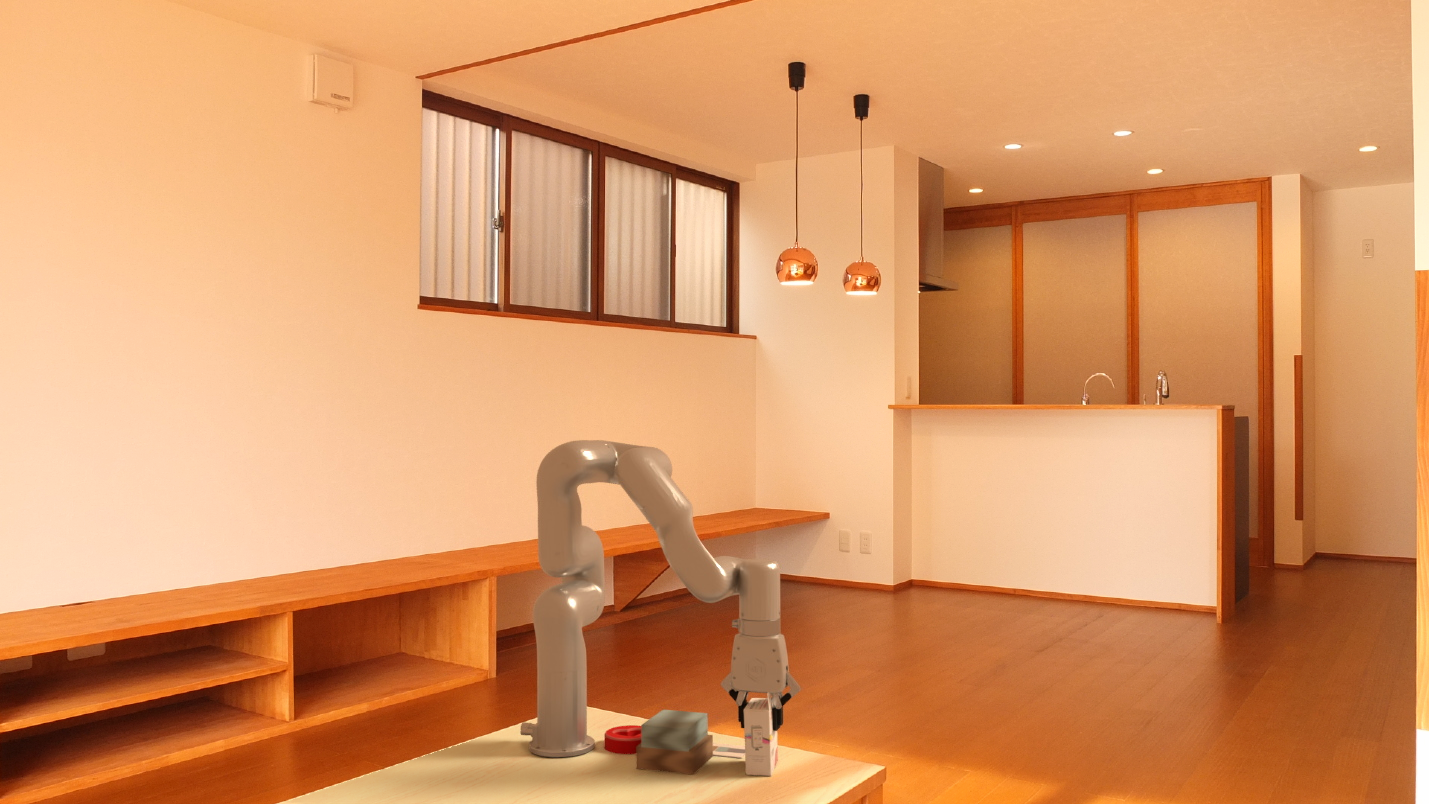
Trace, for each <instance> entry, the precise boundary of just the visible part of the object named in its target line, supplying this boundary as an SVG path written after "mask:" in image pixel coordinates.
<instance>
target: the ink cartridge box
mask: <svg viewBox="0 0 1429 804" xmlns="http://www.w3.org/2000/svg"><path fill="white" fill-rule="evenodd" d="M774 705H775V704H774V701H773V697H772V694H769V692H767V693H766V698H764V697H751V698H750V700H749V701H748V704H747V706H746V707H745V708H744V728H743V730H744V746H745V755H744V756H745V757H744V760H745V762H744V763H745V775H746V776H747V775H748V776H764V777H765V776H769V777H772V776H773V772H774V770H775V768H776V766H777V763H778V760H779V759H778V757H779V756H778V730H777V731H774V730H773V721H772V710H773V708H774Z"/></svg>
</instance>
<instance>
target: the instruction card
mask: <svg viewBox="0 0 1429 804" xmlns="http://www.w3.org/2000/svg"><path fill="white" fill-rule="evenodd" d="M713 756H715V757H724V758H734V759H742V758H743V757H744V756H745V745H741V744H739V745H738V744H729V743H720V742H719V743H717V742H713Z"/></svg>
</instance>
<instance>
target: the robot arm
mask: <svg viewBox="0 0 1429 804" xmlns="http://www.w3.org/2000/svg"><path fill="white" fill-rule="evenodd" d="M672 475H673V465H672V461H671V459H670V457H669V456H668V454H666V453H665V451H663V450H662V449H660V448H658V447H654V446H646V445H644V446H643V445H637V444H631V443H622V442H617V441H610V440H601V439H599V440H598V439H597V440H595V439H594V440H593V439H591V440H588V439H586V440H585V439H581V440H580V439H579V440H571V441H567V442H564V443H562V444H559V445H558V446H556V447H554V448H552V450H550V451H549V452H548V453H547V454H546V455H545V456H544V457H543V459H542V460H541V461H540V463H539V466H538V469H537V474H536V481H535V482H536V483H535V484H536V498H537V501H536V502H537V546H538V548H537V549H538V551H537V552H538V553H537V554H538V563H539V566H540V568H541V570H542V571H543V573H545V574H546V575H547V576H549V577H551V578H561V579H560V580H561V583H558V584H555V585H551V586H550V587H548V588H546V589H544V591H542V592H541V593H540V594H539V595H538V597H537V598H536V600H535V602H534V605H533V609H532V621H533V627H534V633H535V640H536V662H537V664H536V668H537V671H536V672H537V681H536V683H537V684H536V685H537V688H536V690H537V694H536V695H537V698H536V699H537V701H536V702H537V703H536V706H537V714H536V715H537V716H536V717H537V720H536V723H532V722H526V721H525V722H524V721H523V722H522V723H521V724H520V736H530V737H531V738H532V739H531V741H529V745H528V746H529V747H528V749H529V751H530V752H531V753H532V754H534V755H537V756H540V757H546V758H547V757H548V758H567V757H574V756H580V755H584V754H587V753H589V752H591V751H592V750H593V749H594V748H595V746H596V744H595V739H594V738H593V737H592V736H590V735H588V730H587V729H588V725H587V724H588V721H587V720H588V717H587V716H588V713H587V712H588V711H587V709H588V706H587V705H588V703H587V702H588V696H587V693H588V691H587V689H588V688H587V686H588V685H587V684H588V683H587V681H588V676H587V674H588V673H587V672H588V671H587V670H588V669H587V668H588V667H587V665H588V664H587V662H588V661H587V649H586V642H585V639H584V635H583V628H584V627H586V626H588V625H591V624H593V623H594V622H596V621H597V620H598V618H599V617H600V616H601V615H602V614H603V610H604V607H605V599H606V585H605V584H606V583H605V581H606V580H605V578H606V577H605V555H604V554H605V553H604V552H605V551H604V547H603V546H604V545H603V543H602V540H601V538H600V536H599V535H598V533H597V532H596V531H595V530H594V529H592V528H591V527H589V526H587V525H583V521H582V510H583V509H582V503H581V498H580V496H579V492H578V487H579V486H581V485H585V484H594V483H595V484H596V483H605V484H606V483H607V484H614V485H620V487H621V488H622V489H623V491H624V492H625V493H626V495H627V496H628V497H629V498H630V500H631V501H632V502H633V503H634V505H635V506H636V507H637V508H638V510H639V511H640V512H641V513H642V515H643V516H644V517H645V519H646V521H647V522H648V523H649V524H650V526H651V527H652V528H653V530H654V532H655V533H656V535H657V536H656V537H657V539H658V542H659V545H660V547H661V549H662V552H663V554H664V557H665V559H666V561H667V563H668V565H669V566H670V568H671V569H672V571H673V572H674V573H675V574H676V576H677V577H678V579H679V580H680V582H682V584H683V585H684V587H685V588H686V589H687V590H688V592H690V593H691V595H692V596H693V597H695V598H696V599H697V600H699V601H701V602H704V603H707V604H709V603H710V604H714V603H717V602H720V601H722V600H724V599H727V598H729V597H733V596H737V595H739V596H738V598H739V599H738V601H739V602H738V603H739V604H738V607H739V614H738V618H737V619H732V621H731V626H732V628H736V629H737V630H738V633H737V634H735V635H734V639H733V645H732V653H731V662H730V663H731V664H730V672H729V673H728V674H727V676H725V678H724V679H723V680H722V681H721V682H720V686H721V688H722V689H723V690H725V691H726V693H728V695H729V696H730V697H731V698H732V700H734V702H735V704H736V705H737V707H738V708H737V709H738V712H737V714H738V722H739V723H740V728H741V729H744V708H745V707H746V706H747V704H748V703H749V701H748V699H747V698H748V695H749V693H757V694H767V692H769V694H771V698H772V697H773V701H774V704H775V705H774V708H773V710H772V721H773V730H774V731H777V732H778V731H779V729H780V728H781V726H783V723H784V705H786V704H787V703H788V702H789V701H790V700H791V699H792V698H794V696H796V695H798V693H799V692H800V691H801V690H802V688H801V685H800V684H799V682H797V681H796V679H795V678H794V677H793V676H792V674H791V673H790V669H789V667H790V666H789V658H788V657H789V656H788V651H787V650H788V649H787V644H786V643H787V642H786V638H785V635H784V634H783V633H781V629H782V628H781V568H780V565H779V563H778V561H776V560H773V559H770V558H768V559H767V558H751V559H748V558H740V557H736V556H731V555H720V556H716V557H713V555H712V554H711V553H710V552H709V551H708V550H707V548H706V547H705V546H704V544H703V543H702V541H701V540H700V538H699V536H698V534H697V531H696V529H695V525H694V520H693V518H694V517H693V516H694V509H693V505H692V502H691V501H690V500H689V499H688V498H687V496H686V495H685V494H684V492H683V491H682V490H681V488H680V487H679V486H678V485H677V483H676V482H675V481H674V480H673V478H672ZM787 687H789V688H790V689H789V690H788V691H787V692H786V693H785V694H784V693H783V691H784V690H785V689H786V688H787Z"/></svg>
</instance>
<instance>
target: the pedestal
mask: <svg viewBox="0 0 1429 804" xmlns="http://www.w3.org/2000/svg"><path fill="white" fill-rule="evenodd" d="M708 715H709V714H708V713H707V712H699V711H698V712H696V711H687V710H686V711H685V710H674V709H662V710H660V711H659V712H657V714H655V715H653V716H651V717H650V718H649V719H648V720H646V721H644V722H643V723H642V724H641V725H640V726H641V744H639V745H638V746H637V747H636V754H635V755H636V757H635V758H636V763H635V764H636V765H635V766H636V769H637V770H643V771H655V772H664V773H665V772H666V773H674V774H683V775H692V776H693V775H694V776H695V774H696V773H697V772H698V771H699V770H700V769H701V768H702V767H704V766H705V764H706V763H707V762H708V761H709V760H711V759H712V758H713V743H714V742H713V738H714V737H713V734H709V733H708V730H709V728H708V727H709V726H708V723H709V722H708V717H709V716H708Z"/></svg>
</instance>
